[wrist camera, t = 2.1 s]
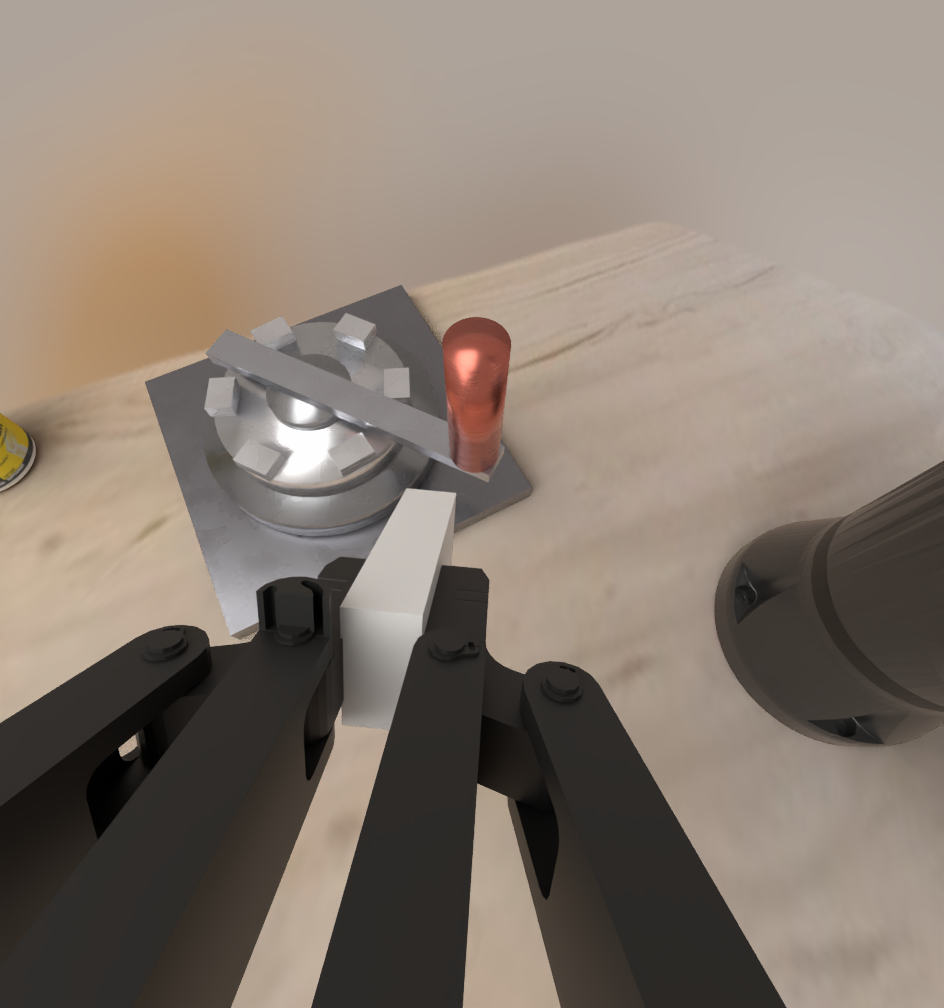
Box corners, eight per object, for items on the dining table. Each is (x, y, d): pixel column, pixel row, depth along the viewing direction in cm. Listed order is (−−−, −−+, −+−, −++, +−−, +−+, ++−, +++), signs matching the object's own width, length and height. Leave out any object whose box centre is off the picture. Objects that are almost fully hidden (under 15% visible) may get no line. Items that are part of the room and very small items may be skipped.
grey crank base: (403, 297, 49) (398, 265, 46) (529, 495, 41) (535, 474, 38) (154, 392, 45) (129, 365, 41) (239, 639, 36) (215, 629, 33)
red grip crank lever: (183, 449, 38) (31, 299, 25) (291, 318, 43) (214, 136, 30) (449, 576, 34) (436, 479, 21) (532, 415, 39) (565, 256, 26)
